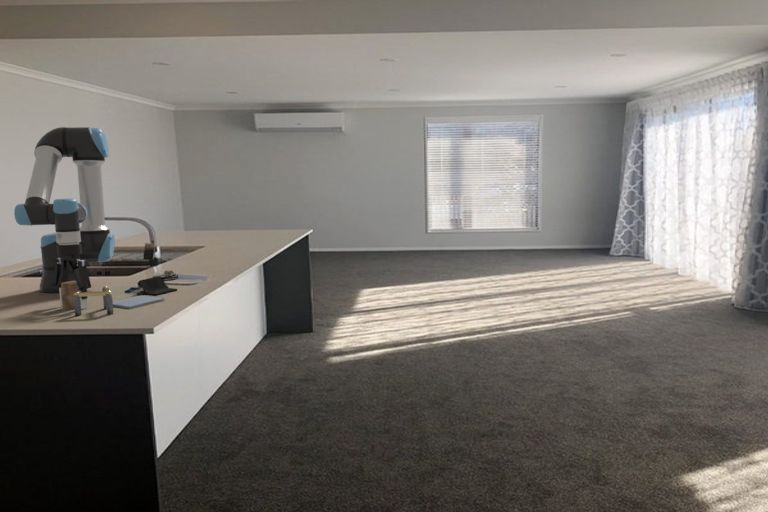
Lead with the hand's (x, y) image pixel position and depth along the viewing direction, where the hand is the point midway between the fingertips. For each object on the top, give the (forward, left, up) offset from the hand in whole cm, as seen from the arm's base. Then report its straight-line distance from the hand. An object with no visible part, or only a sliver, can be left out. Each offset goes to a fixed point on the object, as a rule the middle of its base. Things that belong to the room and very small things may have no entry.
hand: (74, 306), depth 209 cm
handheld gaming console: (+6, +32, -1) cm, 33 cm away
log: (-14, +54, -1) cm, 56 cm away
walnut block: (0, 0, 0) cm, 0 cm away
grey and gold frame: (+16, -1, 0) cm, 16 cm away
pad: (+14, +15, 0) cm, 20 cm away
